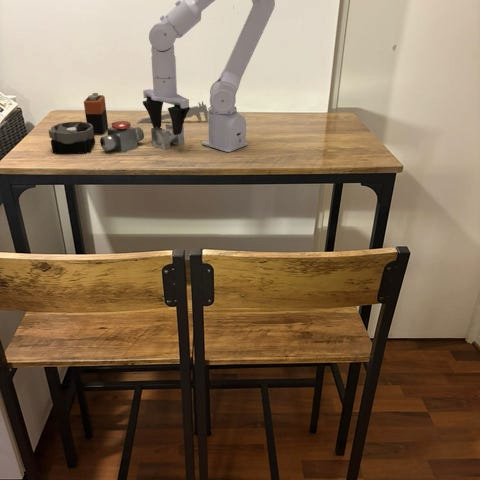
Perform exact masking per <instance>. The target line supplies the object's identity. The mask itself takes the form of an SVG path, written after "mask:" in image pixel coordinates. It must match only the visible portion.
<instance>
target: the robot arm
mask: <svg viewBox="0 0 480 480" xmlns="http://www.w3.org/2000/svg"><path fill="white" fill-rule="evenodd" d="M215 1H216V0H178V1H176V2H175V7H174V8H172V9H171V10H170V11H169V12H168V13H166V15H162V16H160V17H159V19H160V21H159V22H157V23H155V24H154V25H153V26H152V28H151V29H150V31H149V33H148V41H149V42H150V45H151V47H150V48H151V49H150V50H151V51H150V53H151V71H152V73H151V74H152V86H153V89H151V88H149V89H143V90H142V92H143V99H146V100H143V101H142V105H143V106H144V108H145V109H146V112H147V113H148V115H149V116H148V117H150V119H151V122H150V123H151V124H152V128H154V127H160V128H162V120H161V114H163V113H162V111H163V105H164V103H165V104H169V105H172V106H169V107H167V111H168V113H170V116H171V118H170V120H171V123H172V128H173V134H174V135H178V134H181V132H182V127H183V126H184V123H185V119H186V118H185V117H186V115H187V113H188V111H189V109H190V107H191V106H190V99H188V98H186V97H183V96H182V95H180V94H179V93H178V88H177V64H176V63H177V62H176V60H177V58H176V56H175V45H174V44H175V42H176V39H181V38H182V37H183V36H185V35H186V34H187V33H188V32H189V31H190V30H192V29H193V28H194V27H195V26H196V25H198V24H199V23H200V22H201V19H202V12H203V11H205V9H207V8H208V7H210V5H211V4H213V3H214V2H215ZM251 2H252V6H251V9H250V10H249V14H248V15H247V18H246V20H245V22H244V24H243V25H242V26H243V27H242V29H241V31H240V33H239V35H238V38H237V40H236V42H235V45H234V47H233V48H232V51H231V52H230V56H229V57H228V60H227V63H226V64H225V67H224V69H223V70H222V72H221V73H220V76H219V78H218V79H217V80H216V81H215V82H213V83H212V85H211V86H210V90H209V95H210V96H209V105H210V106H209V107H208V108H207V111H208V122H207V124H208V139H207V140H205V141H202V142H201V145H204V146H206V147H210V148H213V149H216V150H220V151H222V152H223V151H224V152H226V153H230V152H233V151H236V150H238V149H241V148H243V147H245V146H248V142H247V121H246V118H245V116H243V115H242V114H240V113H239V112H238V110H237V107H236V106H235V105H236V98H237V97H236V96H237V95H236V94H237V93H238V90H239V87H240V84H241V80H242V78H243V75H244V74H245V72H246V69H247V67H248V66H249V64H250V61H251V59H252V57H253V54H254V52H255V51H256V47H257V46H258V44H259V41H260V39H261V37H262V35H263V33H264V31H265V28H266V26H267V24H268V22H269V20H270V18H271V17H272V16H271V15H272V13H273V12H274V9H275V7H276V0H251Z"/></svg>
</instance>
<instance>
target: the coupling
mask: <svg viewBox="0 0 480 480" xmlns="http://www.w3.org/2000/svg"><path fill="white" fill-rule="evenodd" d="M184 128H185V127H184V125H183V127H182V132H181V134H178V135H174V134H173V128H172V122H169V123H165V128H163V127H154V128H153V127H152V128H150V131H151V132H150V133H151V143H152V145H151V146H152V147H156V148H157V149H158V148H159V149H162V150H164V151H165V150H168V149H171V144H174V145H178V146H180V145H182V144H183V145H184V144H185V133H184V132H185V131H184Z"/></svg>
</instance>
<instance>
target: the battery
mask: <svg viewBox="0 0 480 480" xmlns="http://www.w3.org/2000/svg"><path fill="white" fill-rule="evenodd" d="M83 106H84V113H85V120H86V121H85V122H86V123H90V124H92V126H93V131H94V135H104V134H105V133H106V132H107V128H109V126H108V125H109V123H108V114H107V105H106V99H105V95H104V94H103V95H99V93H98V92H93V93H92V94H89V95H88V97H86V98H85V100H84V101H83Z"/></svg>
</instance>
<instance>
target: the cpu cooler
mask: <svg viewBox="0 0 480 480" xmlns="http://www.w3.org/2000/svg"><path fill="white" fill-rule="evenodd" d="M48 136H49V138H50V145H51V151H52V154H55V155H84V154H87V153H89V154H90V153H91V152H92V150H93V148H94V147H95V145H96V138H95V134H94V131H93V126H92V124H90V123H87V122H86V121H67V122H60V123H57V124H55V125H53V126H51V127H50V129H48Z"/></svg>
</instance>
